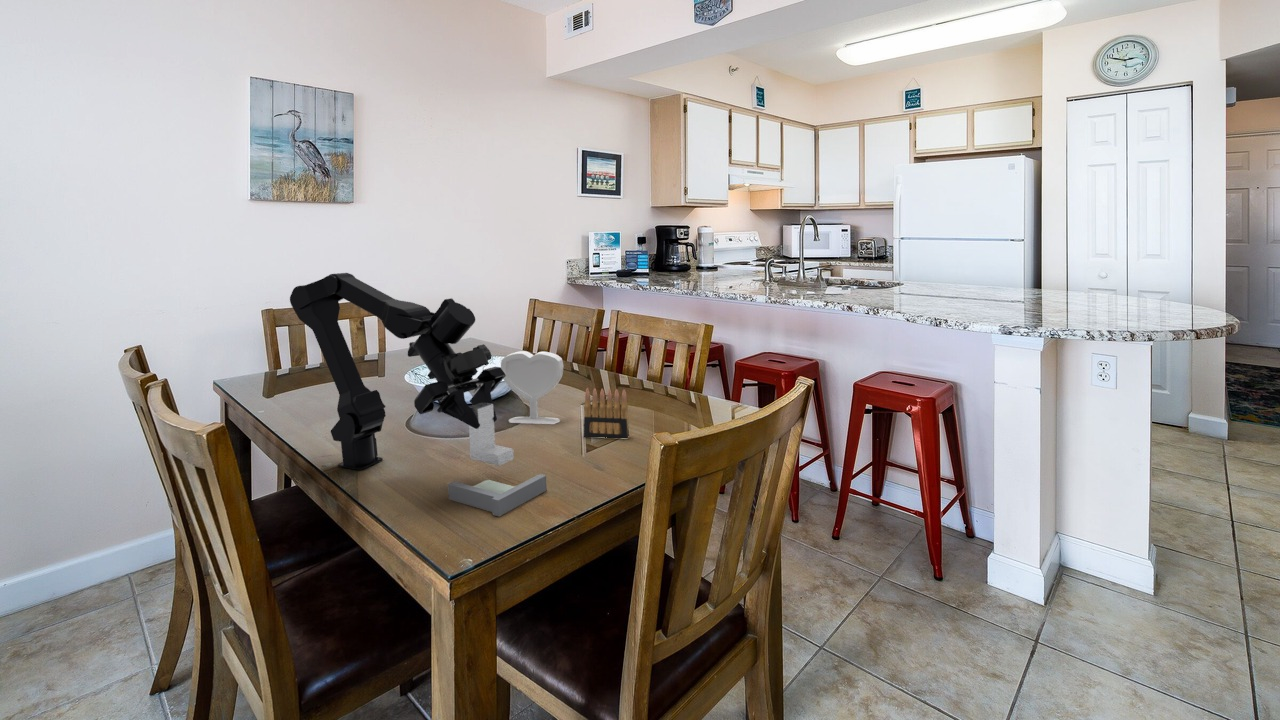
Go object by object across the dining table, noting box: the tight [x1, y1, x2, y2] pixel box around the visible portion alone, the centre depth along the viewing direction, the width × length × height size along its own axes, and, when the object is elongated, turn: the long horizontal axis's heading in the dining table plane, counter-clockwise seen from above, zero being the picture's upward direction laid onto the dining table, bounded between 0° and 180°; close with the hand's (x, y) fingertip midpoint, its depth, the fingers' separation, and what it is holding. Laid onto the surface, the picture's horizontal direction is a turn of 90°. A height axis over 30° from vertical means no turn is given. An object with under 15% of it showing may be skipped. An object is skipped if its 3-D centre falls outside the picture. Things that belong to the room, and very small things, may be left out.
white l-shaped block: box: [468, 402, 514, 466], centre depth 117 cm, size 7×4×10 cm, turn 60°
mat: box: [472, 479, 515, 494], centre depth 119 cm, size 10×7×1 cm
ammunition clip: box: [583, 387, 630, 439], centre depth 149 cm, size 11×2×12 cm, turn 81°
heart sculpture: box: [500, 350, 565, 425], centre depth 162 cm, size 16×5×18 cm, turn 83°
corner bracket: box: [447, 473, 548, 517], centre depth 117 cm, size 13×13×3 cm
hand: (486, 424), depth 117 cm, fingers closed on white l-shaped block, 4 cm apart
